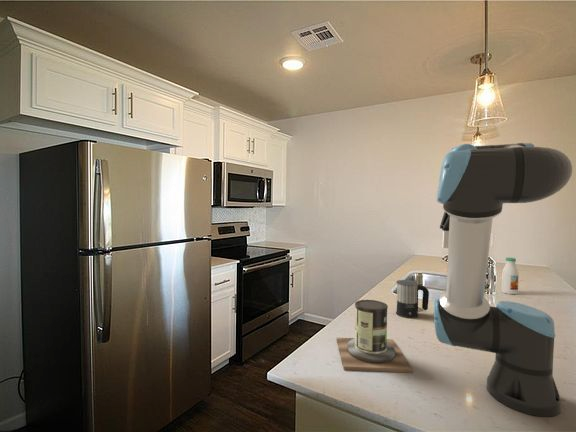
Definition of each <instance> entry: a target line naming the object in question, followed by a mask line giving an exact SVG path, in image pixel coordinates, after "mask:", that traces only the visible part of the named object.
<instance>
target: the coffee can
mask: <svg viewBox="0 0 576 432" xmlns="http://www.w3.org/2000/svg"><path fill="white" fill-rule="evenodd" d="M388 307H389V306H388V304H387V303H385V302H382V301H381V300H374V299H361V300H359V299H358V300H356V301H355V302H354V308H355V310H354V311H355V312H354V317H355V318H354V321H355V322H354V338H355V347H356V348H357V349H358V350H359V351H362V352H364V353H369V354H381V353H384V352H385V351H386V350H387V337H388V334H387V333H388V330H387V329H388Z"/></svg>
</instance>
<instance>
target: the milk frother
mask: <svg viewBox="0 0 576 432" xmlns="http://www.w3.org/2000/svg"><path fill="white" fill-rule="evenodd" d="M419 291H422V301H421V308H422V310H423V311H428V309H429V308H428V307H429V299H430V298H429V297H430V292H429V289H428V288H427V287H426V286H425V285H421V284H419V282H417V281H415V280H409V279H398V280H396V312H395V314H396V315H397V316H399V317H402V318H406V319H415V318H417V317H418V316H419V314H418V312H419Z"/></svg>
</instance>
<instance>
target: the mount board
mask: <svg viewBox="0 0 576 432" xmlns="http://www.w3.org/2000/svg"><path fill="white" fill-rule="evenodd" d="M336 343H337V344H336V345H337V347H338V352H339V353H338V354H339V355H340V360H341V364H342V368H343V370H344V371H365V372H369V371H371V372H392V373H393V372H394V373H413V371H414V370H413V367H412V366H411V364H410V363H409V361H408V359H406V356H404V354H403V352H402V351H401V349H400V348H399V347H398V345H397V343H396V342H395V340H394V339H392V338H391V339H390V338H389V339H387V350H386V351H385V352H384V353H381V354H369V353H364V352H362V351H359V350H358V349H357V348H356V347H355V337H336Z"/></svg>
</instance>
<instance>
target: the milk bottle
mask: <svg viewBox="0 0 576 432" xmlns="http://www.w3.org/2000/svg"><path fill="white" fill-rule="evenodd" d="M516 260H517V259H516V258H515V257H506V258H505V265H504V267H503V269H502V271H501V287H500V289H501V293H503V294H506V293H507V294H506V295H512V294H516V295H518V294H519V270H518V268H517V266H516V262H517V261H516Z"/></svg>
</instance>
